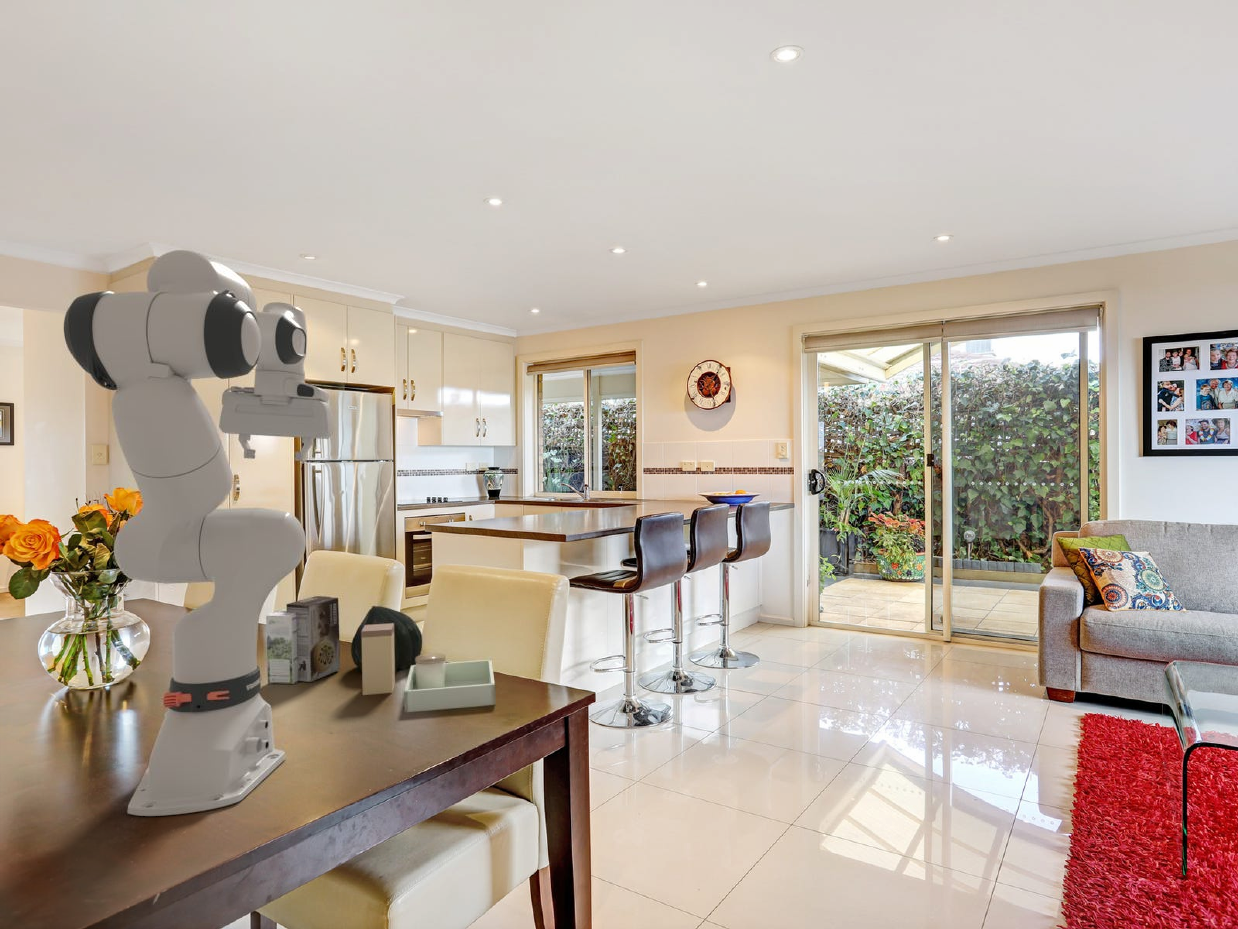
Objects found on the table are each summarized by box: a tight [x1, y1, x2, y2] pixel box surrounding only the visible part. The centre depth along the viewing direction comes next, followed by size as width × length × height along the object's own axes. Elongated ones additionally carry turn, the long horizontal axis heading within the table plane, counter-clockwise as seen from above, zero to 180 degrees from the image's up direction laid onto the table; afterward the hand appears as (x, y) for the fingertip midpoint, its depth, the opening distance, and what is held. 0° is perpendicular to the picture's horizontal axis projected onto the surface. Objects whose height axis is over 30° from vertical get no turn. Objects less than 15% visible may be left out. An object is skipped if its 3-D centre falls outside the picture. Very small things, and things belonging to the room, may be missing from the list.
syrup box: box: [265, 609, 299, 685], centre depth 152 cm, size 6×6×14 cm
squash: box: [350, 605, 423, 673], centre depth 158 cm, size 14×15×15 cm
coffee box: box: [286, 595, 341, 683], centre depth 155 cm, size 9×6×16 cm
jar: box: [415, 652, 446, 690], centre depth 143 cm, size 6×6×6 cm
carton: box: [361, 623, 396, 696], centre depth 142 cm, size 6×6×13 cm
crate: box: [403, 659, 496, 713], centre depth 139 cm, size 17×16×4 cm
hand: (274, 459), depth 140 cm, fingers open, 8 cm apart
